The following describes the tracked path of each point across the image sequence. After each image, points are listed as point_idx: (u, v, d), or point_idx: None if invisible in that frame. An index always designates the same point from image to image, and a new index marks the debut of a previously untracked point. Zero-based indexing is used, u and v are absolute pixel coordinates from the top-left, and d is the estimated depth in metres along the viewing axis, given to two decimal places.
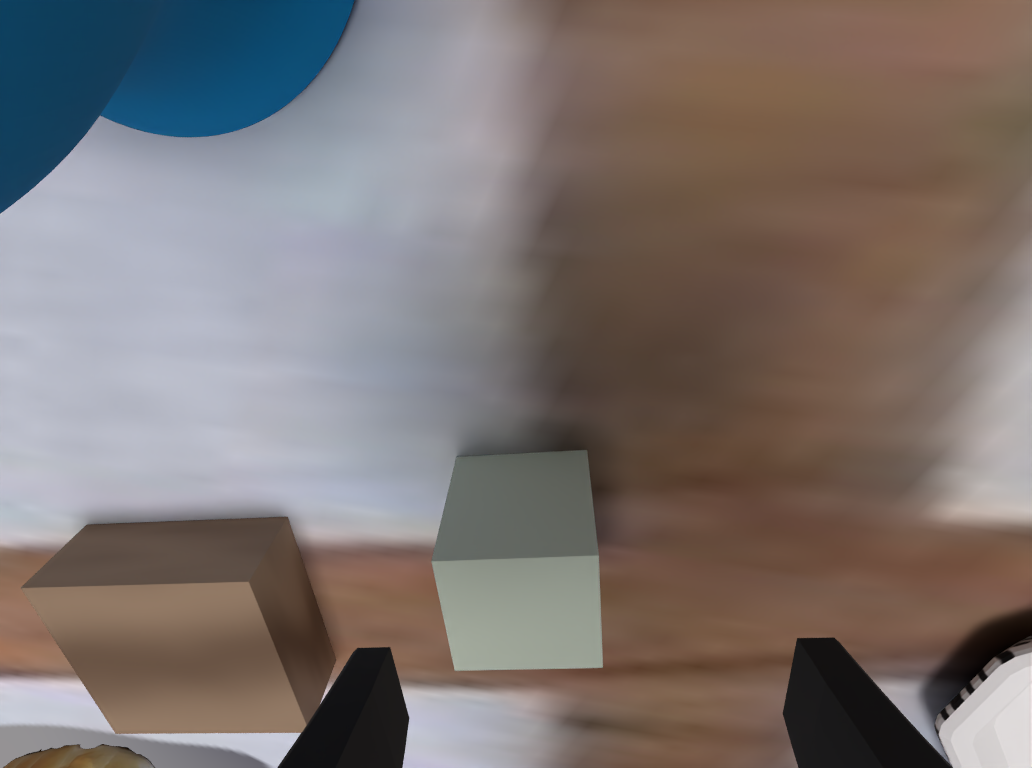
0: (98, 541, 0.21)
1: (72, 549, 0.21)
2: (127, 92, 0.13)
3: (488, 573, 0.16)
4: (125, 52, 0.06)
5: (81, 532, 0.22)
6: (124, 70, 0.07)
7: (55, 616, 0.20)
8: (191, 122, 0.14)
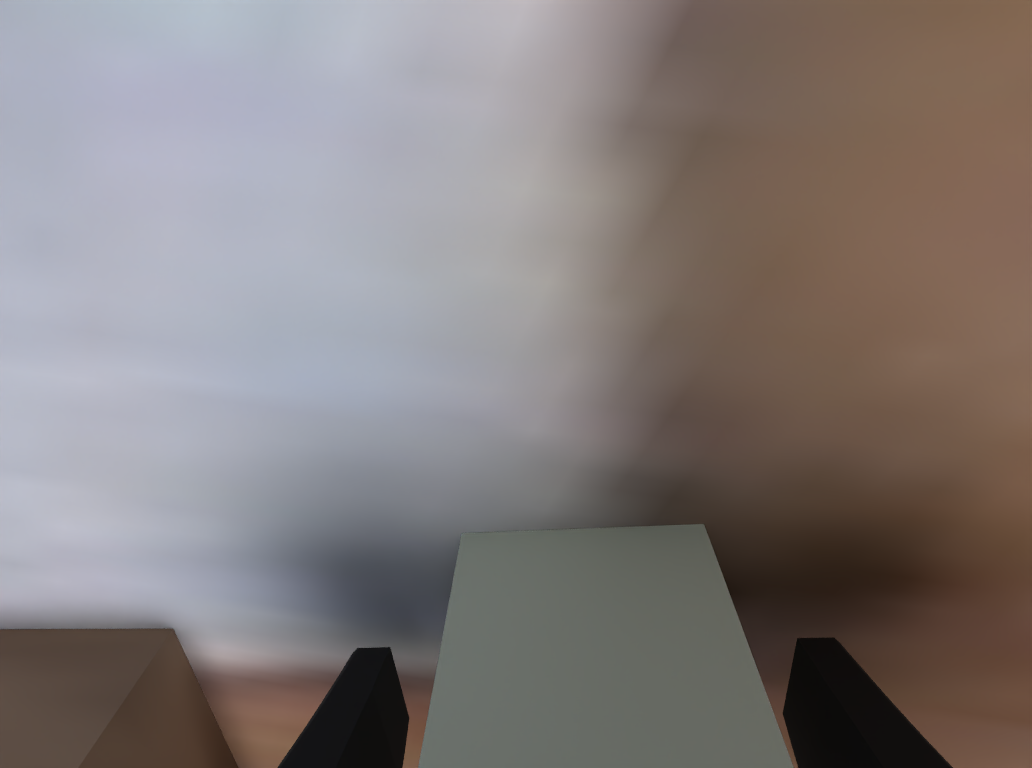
0: None
1: None
2: None
3: None
4: None
5: None
6: None
7: None
8: None
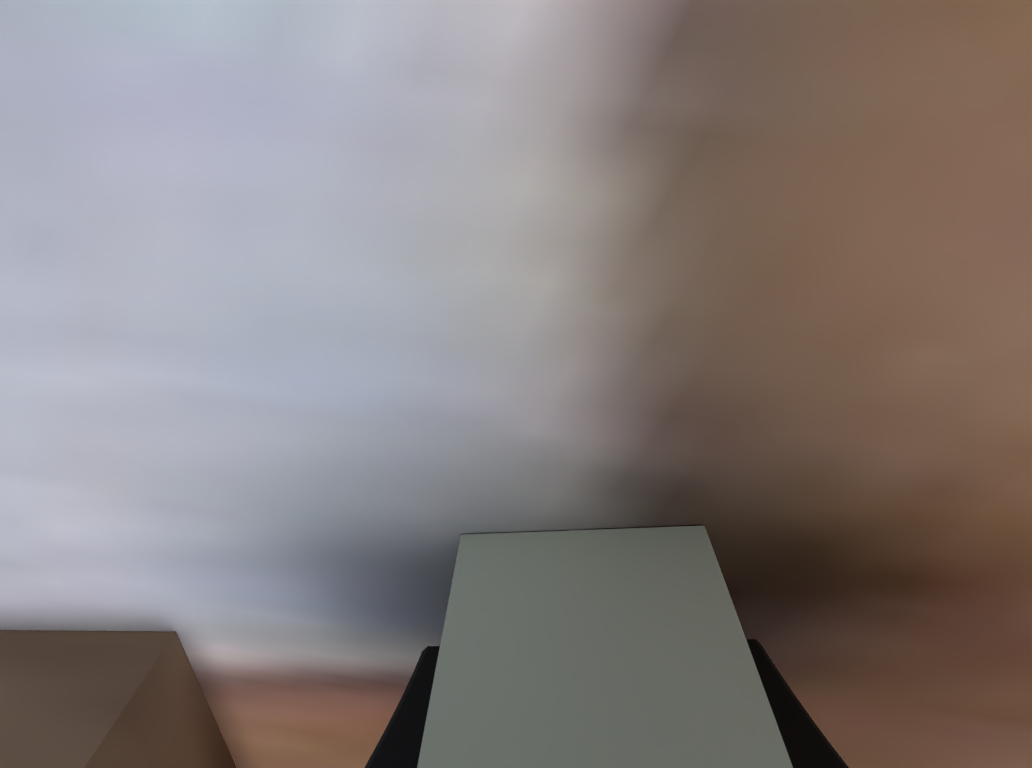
0: None
1: None
2: None
3: None
4: None
5: None
6: None
7: None
8: None
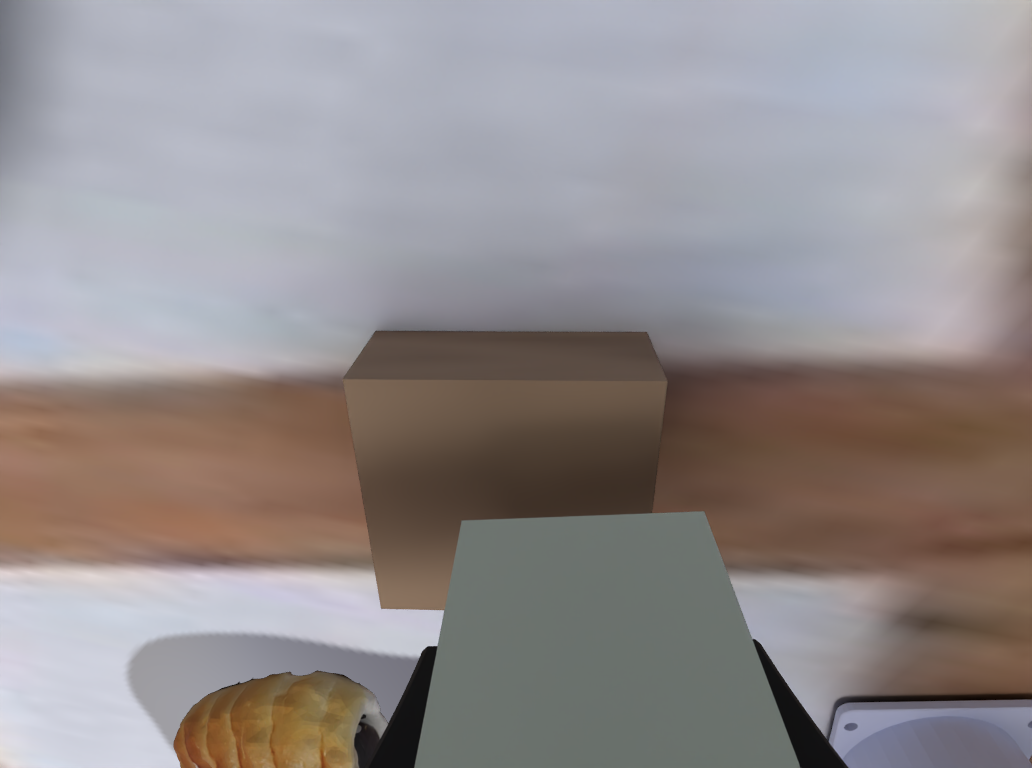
0: (408, 344, 0.16)
1: (379, 350, 0.16)
2: None
3: None
4: None
5: (376, 337, 0.17)
6: None
7: (374, 426, 0.15)
8: None
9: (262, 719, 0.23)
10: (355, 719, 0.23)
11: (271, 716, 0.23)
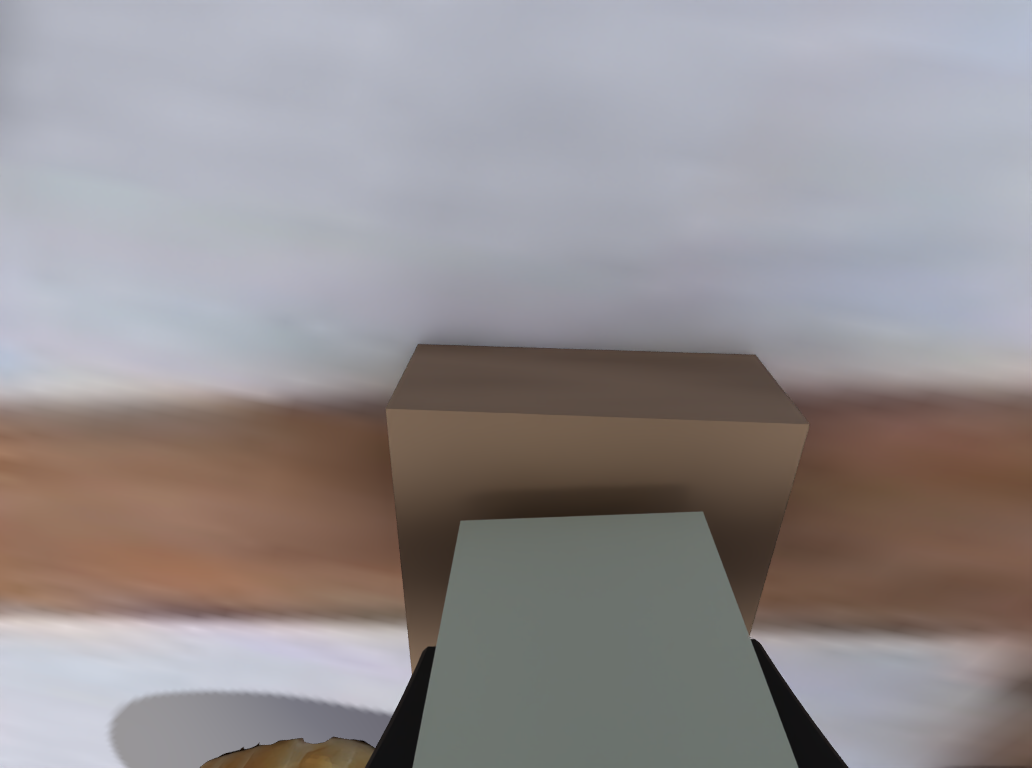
0: (462, 362, 0.13)
1: (427, 369, 0.13)
2: None
3: None
4: None
5: (420, 352, 0.14)
6: None
7: (421, 469, 0.12)
8: None
9: None
10: None
11: None
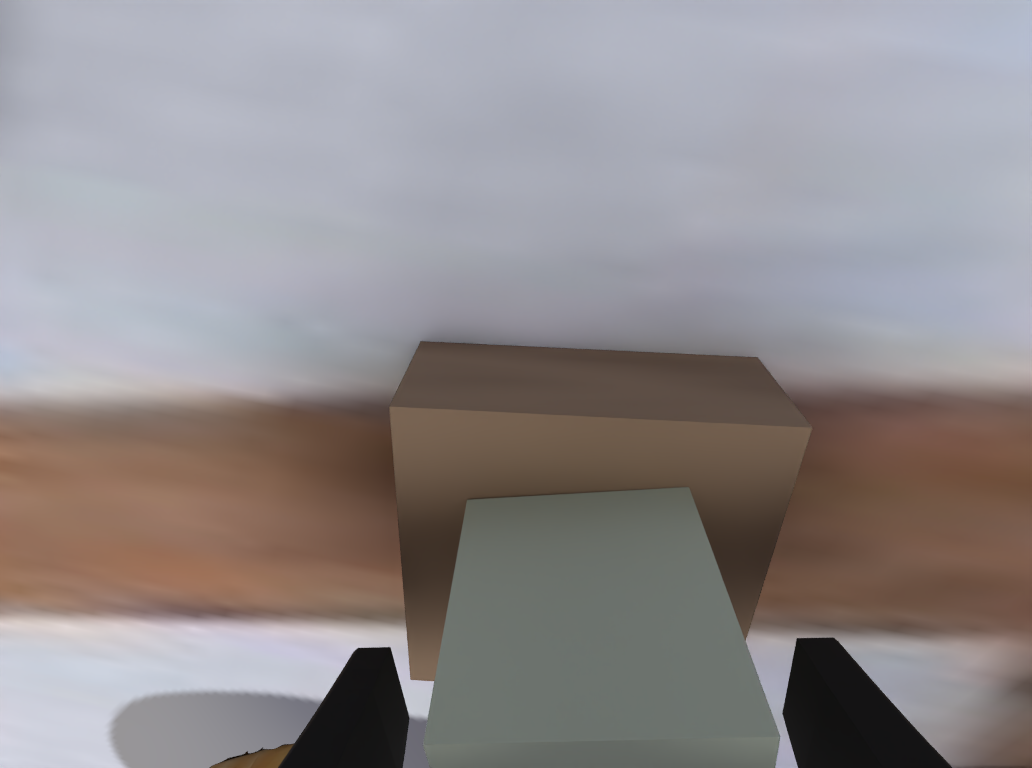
0: (465, 361, 0.13)
1: (430, 367, 0.13)
2: None
3: (541, 766, 0.08)
4: None
5: (423, 349, 0.13)
6: None
7: (424, 467, 0.12)
8: None
9: None
10: None
11: None
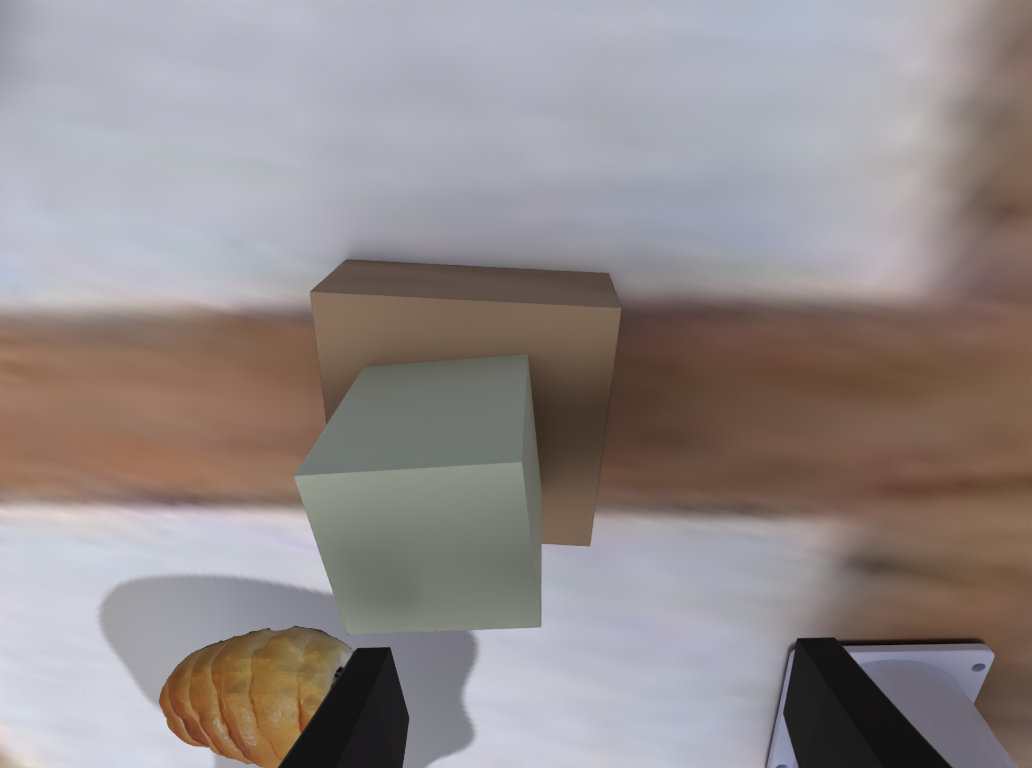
0: (377, 270, 0.17)
1: (348, 272, 0.16)
2: None
3: (373, 492, 0.11)
4: None
5: (347, 263, 0.17)
6: None
7: (339, 342, 0.16)
8: None
9: (241, 671, 0.24)
10: (331, 669, 0.24)
11: (250, 668, 0.24)
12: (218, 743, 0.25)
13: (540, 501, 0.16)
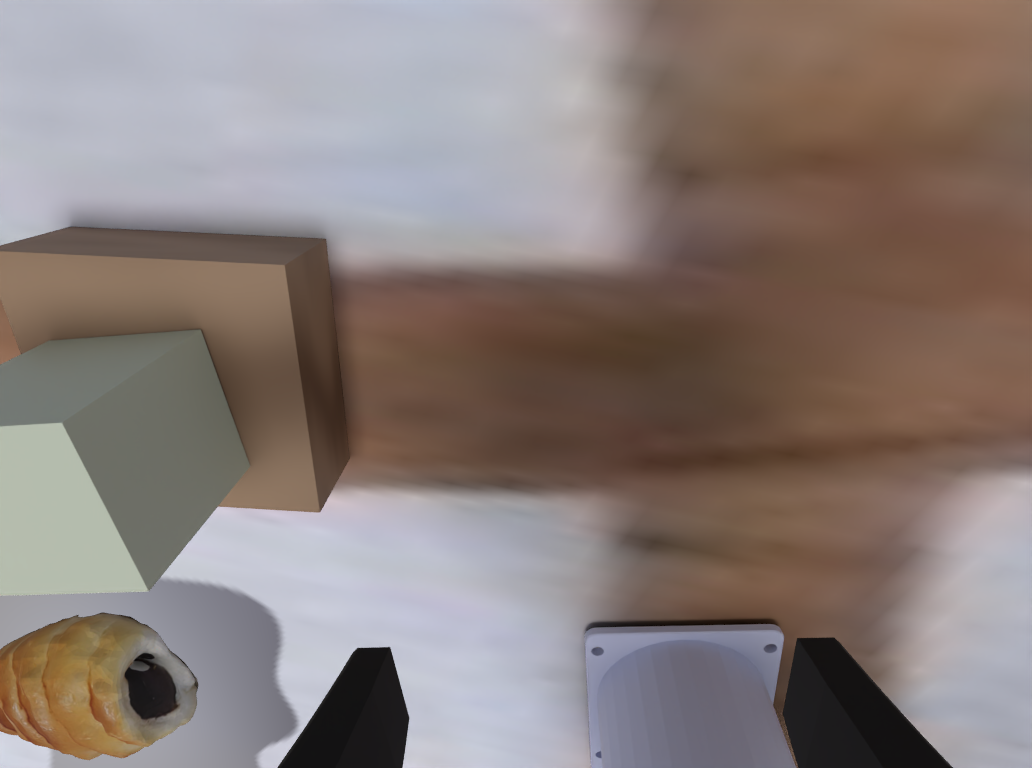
0: (86, 234, 0.17)
1: (52, 236, 0.17)
2: None
3: None
4: None
5: (65, 229, 0.18)
6: None
7: (23, 301, 0.16)
8: None
9: (38, 656, 0.24)
10: (125, 654, 0.24)
11: (46, 653, 0.24)
12: (23, 730, 0.25)
13: (229, 475, 0.17)
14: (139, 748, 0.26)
